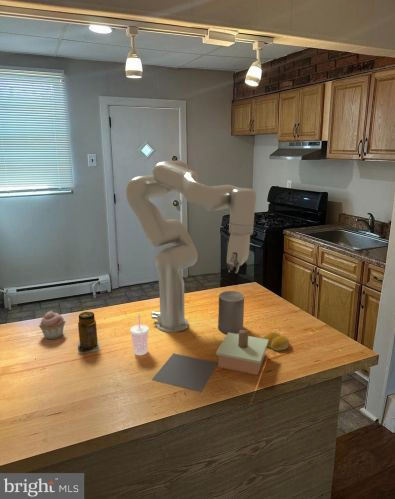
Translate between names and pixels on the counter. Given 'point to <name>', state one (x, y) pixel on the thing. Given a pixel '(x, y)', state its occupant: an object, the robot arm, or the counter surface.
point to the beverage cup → (139, 338)
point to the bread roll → (276, 341)
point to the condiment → (87, 333)
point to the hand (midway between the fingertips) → (237, 278)
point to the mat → (186, 372)
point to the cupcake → (52, 325)
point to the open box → (240, 365)
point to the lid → (243, 347)
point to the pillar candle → (231, 312)
